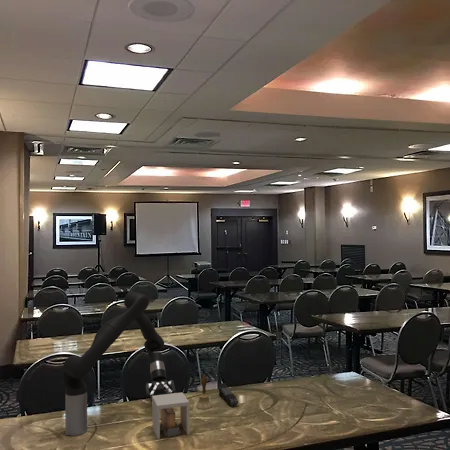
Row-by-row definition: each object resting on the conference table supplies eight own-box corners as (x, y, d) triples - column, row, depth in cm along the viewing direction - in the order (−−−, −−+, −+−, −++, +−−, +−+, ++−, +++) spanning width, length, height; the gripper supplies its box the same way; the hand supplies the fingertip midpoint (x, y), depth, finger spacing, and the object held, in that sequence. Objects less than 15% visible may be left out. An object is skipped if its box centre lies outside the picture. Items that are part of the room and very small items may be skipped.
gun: (223, 393, 262) (225, 377, 259) (236, 417, 245) (239, 401, 242) (216, 394, 261) (217, 378, 258) (228, 418, 243) (230, 402, 240)
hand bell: (209, 402, 249) (209, 371, 249) (214, 408, 241) (213, 376, 241) (194, 404, 246) (193, 373, 246) (198, 410, 238) (197, 377, 239)
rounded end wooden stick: (176, 433, 210) (176, 414, 210) (168, 434, 209) (167, 415, 209) (168, 418, 227) (168, 401, 227) (161, 419, 226) (160, 402, 226)
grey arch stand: (157, 438, 204) (157, 405, 205) (152, 426, 217) (152, 395, 218) (189, 434, 208) (189, 401, 209) (182, 422, 222) (182, 392, 222)
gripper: (144, 369, 241) (148, 399, 229) (172, 366, 245) (177, 396, 234) (143, 377, 246) (146, 407, 234) (170, 374, 250) (175, 403, 239)
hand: (162, 401), depth 234 cm, fingers open, 8 cm apart
